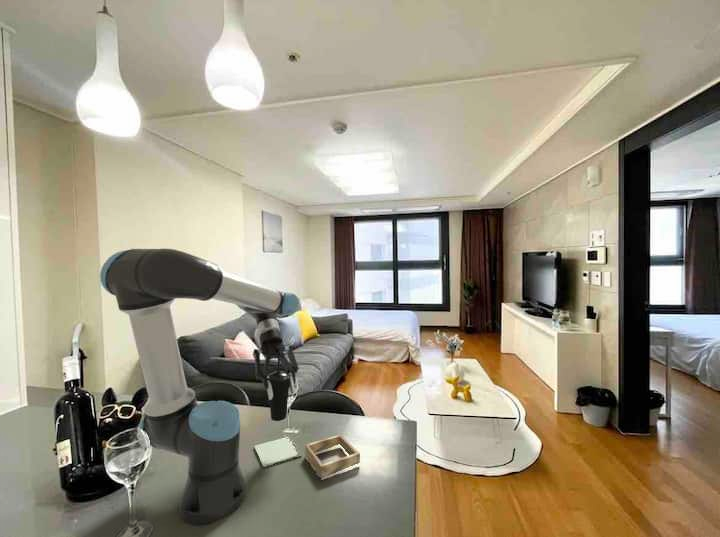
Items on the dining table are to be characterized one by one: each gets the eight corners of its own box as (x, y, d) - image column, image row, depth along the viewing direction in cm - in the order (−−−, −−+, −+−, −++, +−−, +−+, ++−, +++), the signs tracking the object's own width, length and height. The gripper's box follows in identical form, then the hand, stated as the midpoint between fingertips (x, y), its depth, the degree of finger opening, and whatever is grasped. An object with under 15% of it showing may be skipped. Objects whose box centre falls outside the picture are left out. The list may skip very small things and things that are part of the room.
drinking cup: (287, 423, 96) (287, 360, 96) (263, 423, 96) (263, 359, 96) (293, 412, 104) (293, 353, 104) (270, 411, 104) (270, 352, 104)
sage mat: (262, 468, 91) (263, 465, 91) (254, 448, 101) (254, 445, 101) (301, 456, 97) (301, 453, 97) (289, 438, 107) (289, 436, 108)
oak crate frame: (321, 481, 86) (321, 466, 86) (304, 457, 97) (305, 444, 97) (359, 467, 92) (359, 453, 92) (340, 446, 103) (340, 434, 103)
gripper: (293, 337, 118) (308, 395, 104) (240, 343, 108) (248, 407, 94) (298, 326, 114) (314, 384, 100) (243, 330, 104) (252, 396, 90)
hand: (282, 395), depth 97 cm, fingers closed on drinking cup, 6 cm apart
